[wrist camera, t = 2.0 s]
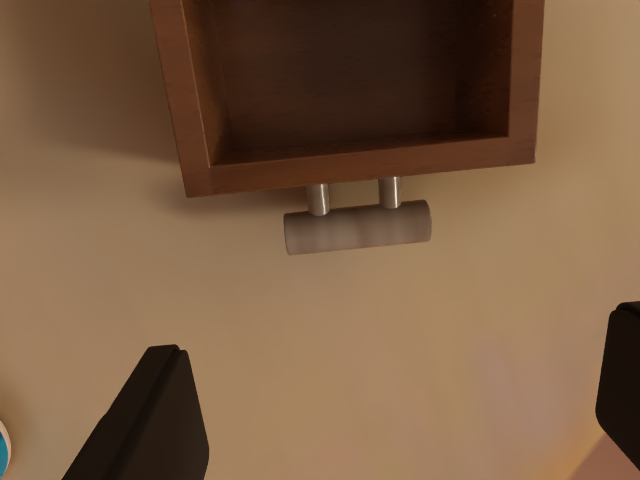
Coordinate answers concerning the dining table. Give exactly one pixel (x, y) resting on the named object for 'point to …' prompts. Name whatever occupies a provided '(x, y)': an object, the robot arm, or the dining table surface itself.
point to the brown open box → (348, 101)
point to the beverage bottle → (4, 449)
